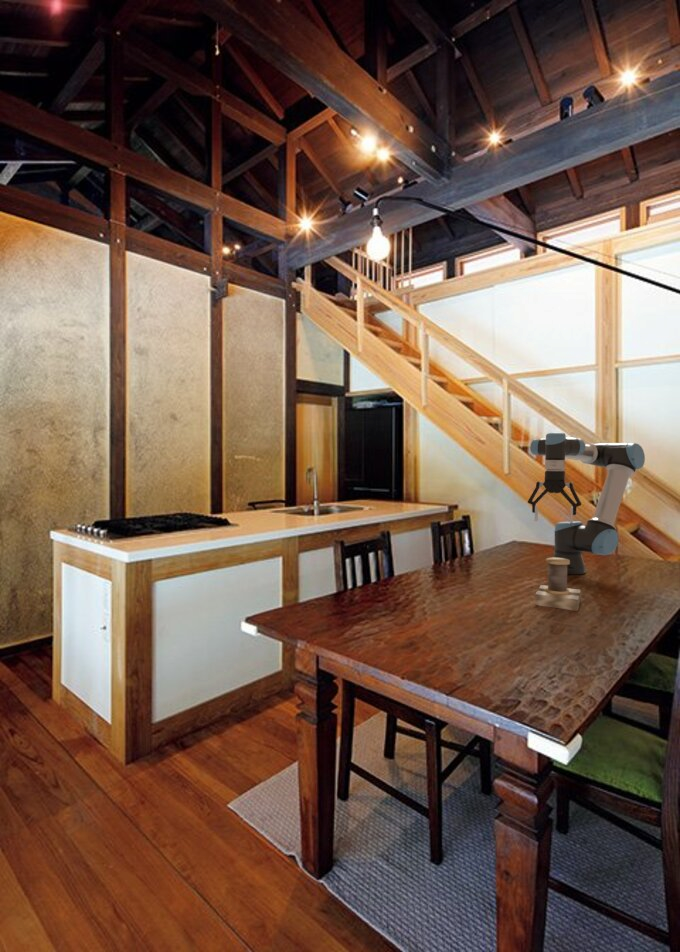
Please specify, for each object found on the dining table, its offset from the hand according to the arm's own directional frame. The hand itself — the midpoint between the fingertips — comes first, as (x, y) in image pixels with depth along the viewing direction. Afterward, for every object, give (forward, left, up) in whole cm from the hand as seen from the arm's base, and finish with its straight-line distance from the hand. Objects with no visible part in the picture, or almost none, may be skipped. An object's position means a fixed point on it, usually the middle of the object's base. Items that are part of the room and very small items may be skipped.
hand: (553, 521), depth 206 cm
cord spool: (+17, -17, -23) cm, 33 cm away
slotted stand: (+17, -17, -27) cm, 36 cm away
